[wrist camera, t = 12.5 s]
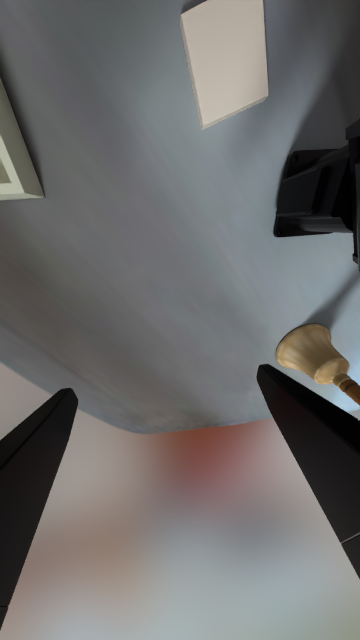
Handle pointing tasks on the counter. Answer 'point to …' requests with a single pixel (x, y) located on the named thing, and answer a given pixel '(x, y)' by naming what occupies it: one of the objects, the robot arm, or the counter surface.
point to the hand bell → (317, 358)
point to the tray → (15, 158)
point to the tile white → (225, 57)
